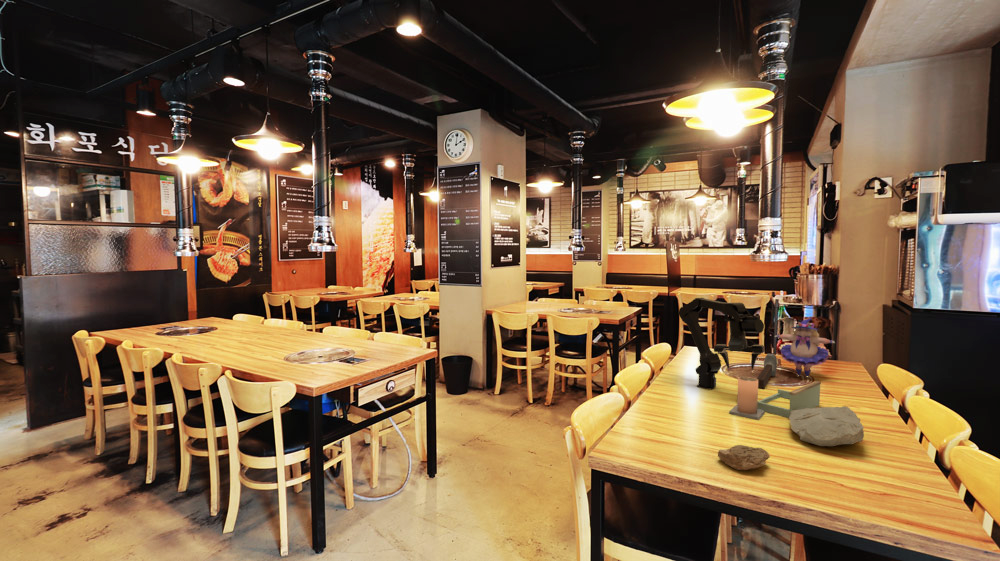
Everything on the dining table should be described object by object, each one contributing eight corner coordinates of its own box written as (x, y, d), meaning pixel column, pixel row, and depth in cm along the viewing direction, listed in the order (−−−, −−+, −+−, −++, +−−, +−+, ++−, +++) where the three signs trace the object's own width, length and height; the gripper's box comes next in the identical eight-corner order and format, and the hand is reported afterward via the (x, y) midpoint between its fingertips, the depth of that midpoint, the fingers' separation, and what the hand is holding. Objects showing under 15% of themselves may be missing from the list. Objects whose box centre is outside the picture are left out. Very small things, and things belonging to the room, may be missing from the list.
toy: (769, 376, 228) (772, 316, 226) (777, 368, 244) (779, 312, 242) (831, 386, 212) (834, 321, 210) (836, 376, 228) (838, 316, 226)
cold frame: (750, 407, 183) (751, 383, 182) (778, 396, 198) (779, 373, 197) (793, 419, 170) (794, 393, 170) (819, 405, 185) (820, 381, 184)
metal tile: (729, 413, 176) (729, 411, 176) (736, 407, 184) (736, 404, 183) (758, 420, 169) (758, 417, 169) (764, 412, 177) (764, 410, 177)
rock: (714, 467, 132) (715, 451, 132) (720, 454, 142) (720, 438, 141) (767, 480, 125) (768, 462, 125) (769, 464, 134) (770, 448, 134)
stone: (793, 449, 145) (873, 455, 135) (789, 419, 146) (868, 422, 136) (789, 424, 174) (854, 427, 164) (785, 399, 175) (850, 400, 165)
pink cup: (733, 408, 179) (734, 377, 178) (748, 407, 180) (749, 376, 180) (745, 414, 172) (747, 382, 172) (761, 413, 174) (762, 381, 173)
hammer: (766, 397, 207) (776, 374, 230) (766, 373, 206) (777, 353, 228) (754, 395, 210) (765, 373, 233) (754, 371, 209) (766, 352, 231)
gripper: (709, 333, 195) (712, 370, 195) (759, 333, 184) (762, 373, 183) (715, 331, 204) (718, 366, 203) (763, 331, 193) (766, 368, 192)
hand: (740, 368), depth 195 cm, fingers open, 9 cm apart
